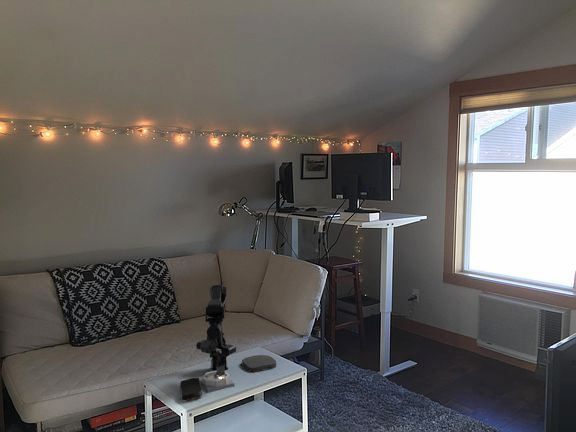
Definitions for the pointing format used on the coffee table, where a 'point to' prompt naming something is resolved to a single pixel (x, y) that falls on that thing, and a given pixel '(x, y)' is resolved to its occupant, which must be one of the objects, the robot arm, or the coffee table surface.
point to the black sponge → (190, 389)
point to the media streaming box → (258, 363)
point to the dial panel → (216, 382)
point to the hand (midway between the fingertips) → (216, 365)
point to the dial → (219, 373)
